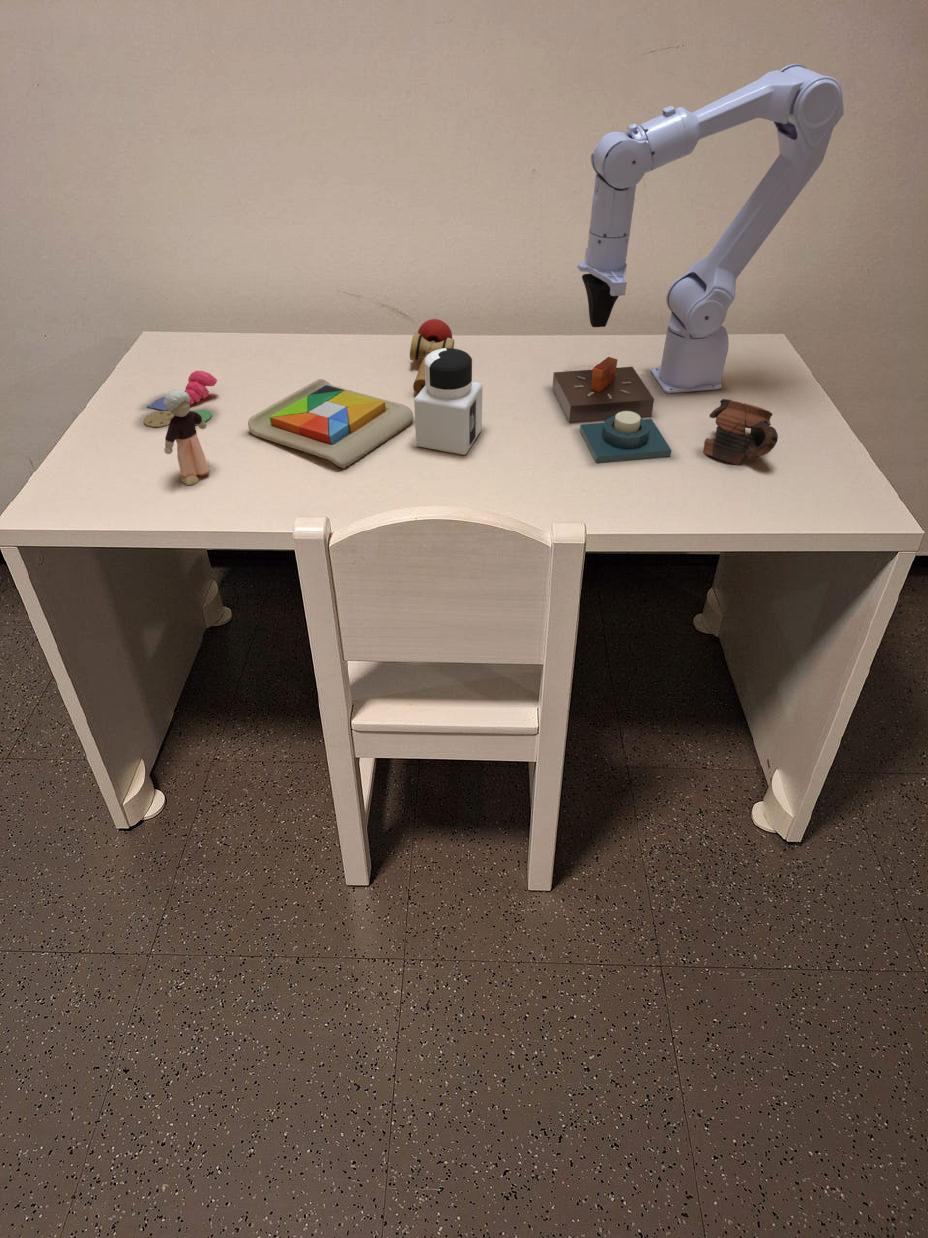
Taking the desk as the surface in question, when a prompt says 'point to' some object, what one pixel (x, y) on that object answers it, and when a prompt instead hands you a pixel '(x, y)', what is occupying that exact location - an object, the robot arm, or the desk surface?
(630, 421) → the button
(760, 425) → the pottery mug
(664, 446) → the button block
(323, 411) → the wooden puzzle
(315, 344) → the desk surface
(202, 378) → the toy pieces
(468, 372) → the container
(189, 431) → the grandmother figurine
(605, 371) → the dial knob
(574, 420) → the dial board
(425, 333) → the kendama
